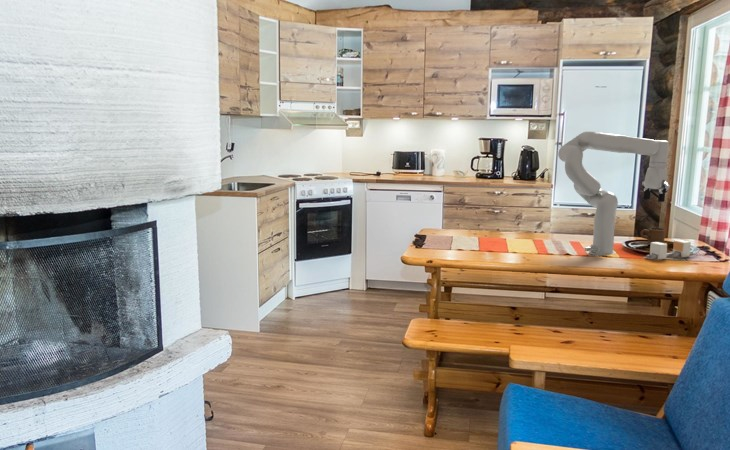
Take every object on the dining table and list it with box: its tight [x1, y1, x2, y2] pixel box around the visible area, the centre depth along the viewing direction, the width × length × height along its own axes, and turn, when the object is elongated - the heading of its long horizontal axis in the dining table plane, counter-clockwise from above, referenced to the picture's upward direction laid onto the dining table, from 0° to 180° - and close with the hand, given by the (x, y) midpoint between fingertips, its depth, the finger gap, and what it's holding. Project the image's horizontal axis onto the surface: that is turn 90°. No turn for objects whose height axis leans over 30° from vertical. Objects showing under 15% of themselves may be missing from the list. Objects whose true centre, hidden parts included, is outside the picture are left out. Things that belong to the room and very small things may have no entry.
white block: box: [649, 242, 668, 260], centre depth 271 cm, size 5×6×7 cm
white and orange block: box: [672, 239, 692, 258], centre depth 275 cm, size 5×6×7 cm
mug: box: [640, 227, 666, 246], centre depth 302 cm, size 12×8×9 cm, turn 83°
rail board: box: [642, 250, 696, 261], centre depth 274 cm, size 26×7×3 cm, turn 107°
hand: (653, 200), depth 283 cm, fingers open, 9 cm apart
